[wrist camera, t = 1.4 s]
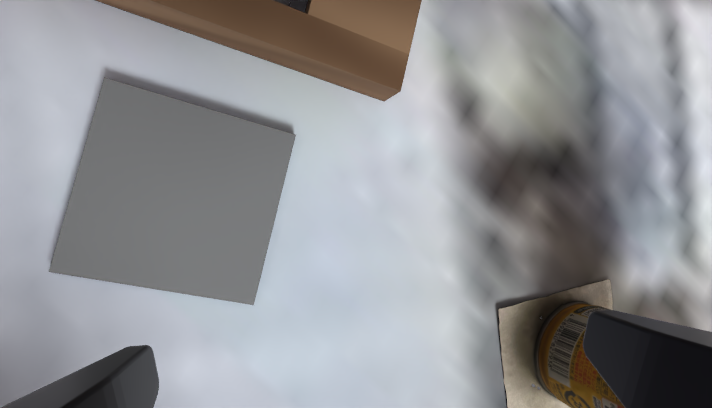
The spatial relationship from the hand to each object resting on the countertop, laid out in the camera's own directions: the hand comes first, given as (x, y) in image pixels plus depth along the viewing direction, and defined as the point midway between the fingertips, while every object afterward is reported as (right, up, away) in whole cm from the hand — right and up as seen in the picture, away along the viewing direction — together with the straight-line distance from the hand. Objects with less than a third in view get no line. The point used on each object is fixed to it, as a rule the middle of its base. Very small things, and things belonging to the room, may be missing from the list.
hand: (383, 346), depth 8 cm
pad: (-8, +3, +9) cm, 13 cm away
